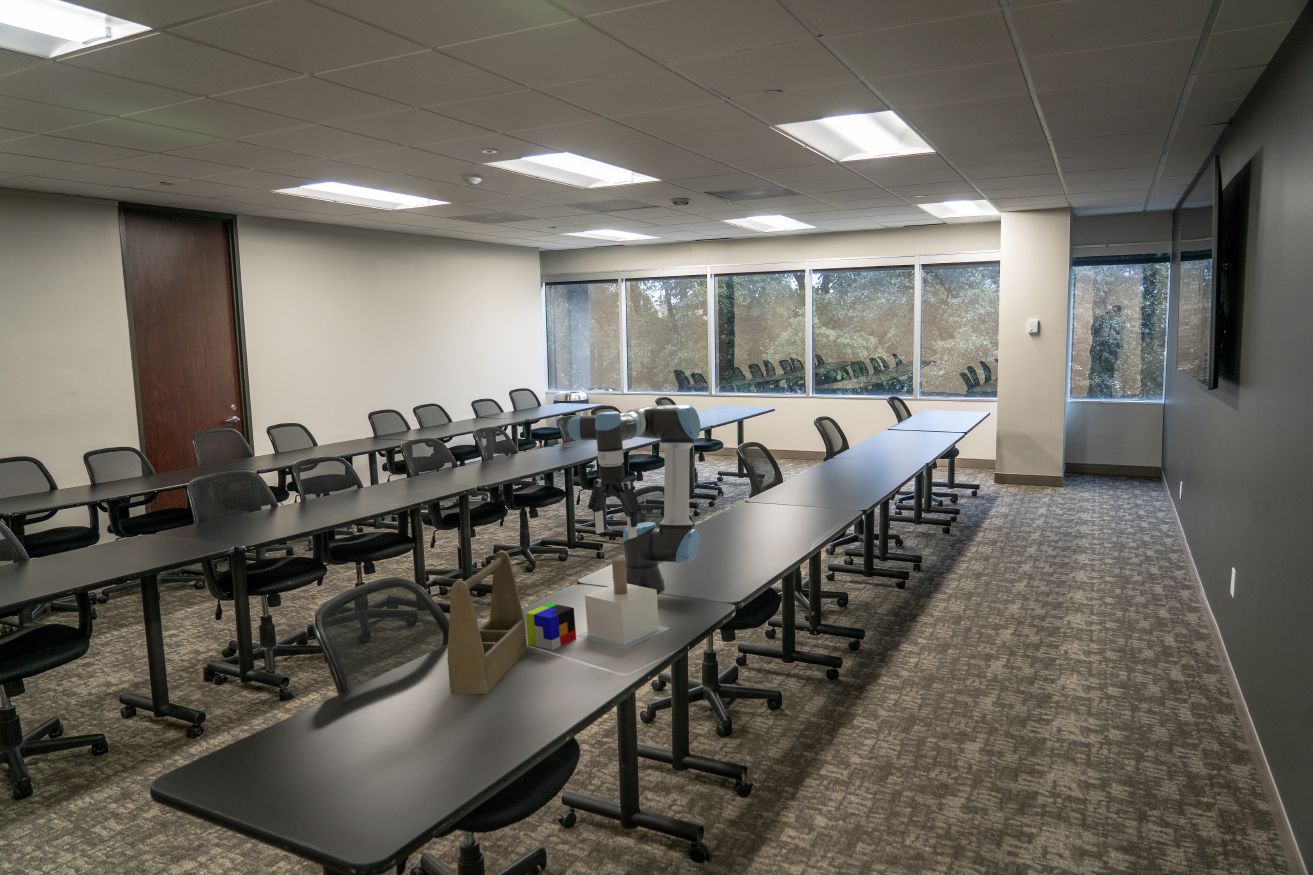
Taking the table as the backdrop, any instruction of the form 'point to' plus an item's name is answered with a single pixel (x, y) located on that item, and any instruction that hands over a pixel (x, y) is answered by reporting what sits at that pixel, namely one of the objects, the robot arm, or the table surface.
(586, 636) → the mat
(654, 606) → the cover box
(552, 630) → the puzzle toy
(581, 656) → the table surface
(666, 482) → the robot arm
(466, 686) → the caddy
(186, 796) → the table surface
